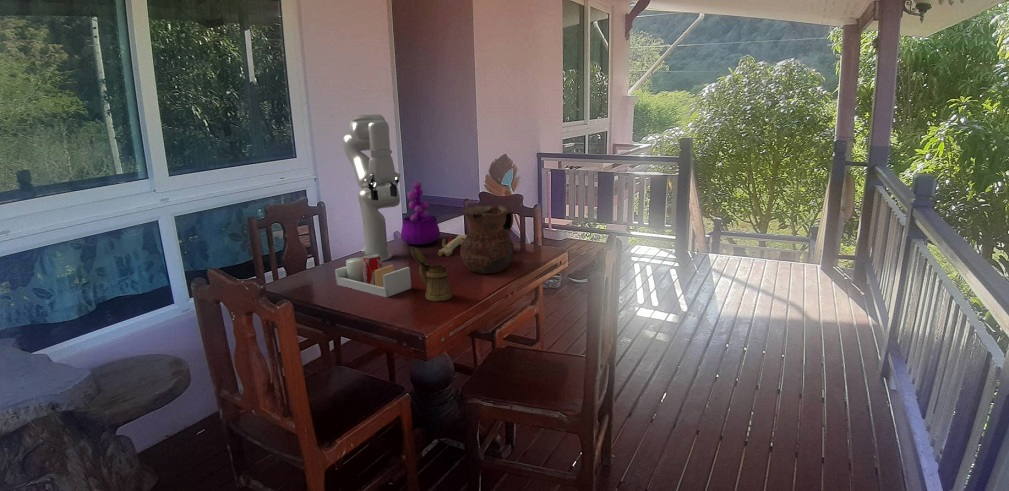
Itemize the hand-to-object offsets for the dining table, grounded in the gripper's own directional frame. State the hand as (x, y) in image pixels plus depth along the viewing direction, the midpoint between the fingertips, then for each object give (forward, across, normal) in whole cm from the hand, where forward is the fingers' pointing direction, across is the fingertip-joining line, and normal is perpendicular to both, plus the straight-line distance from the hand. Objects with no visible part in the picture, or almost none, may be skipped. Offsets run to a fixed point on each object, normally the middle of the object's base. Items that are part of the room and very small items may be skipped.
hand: (384, 198), depth 229 cm
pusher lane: (+30, +16, +9) cm, 35 cm away
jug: (+31, -24, +31) cm, 50 cm away
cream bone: (+31, -42, -2) cm, 52 cm away
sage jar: (+30, +16, -1) cm, 34 cm away
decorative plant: (+31, -42, -25) cm, 58 cm away
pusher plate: (+30, +16, +15) cm, 37 cm away
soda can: (+31, +16, +8) cm, 35 cm away
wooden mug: (+31, +13, +36) cm, 49 cm away
